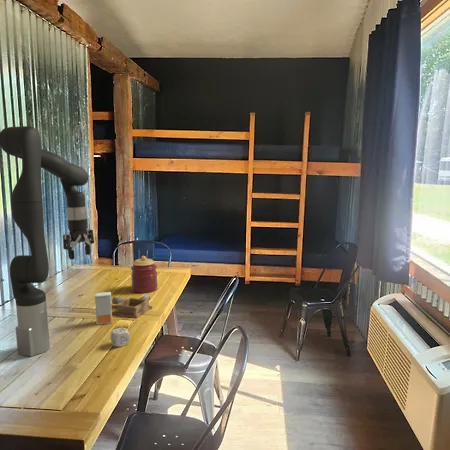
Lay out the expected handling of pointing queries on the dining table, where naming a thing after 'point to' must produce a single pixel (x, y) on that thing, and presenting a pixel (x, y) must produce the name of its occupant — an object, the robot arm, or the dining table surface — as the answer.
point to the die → (120, 337)
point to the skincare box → (103, 308)
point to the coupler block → (132, 306)
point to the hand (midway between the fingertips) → (80, 256)
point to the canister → (144, 275)
